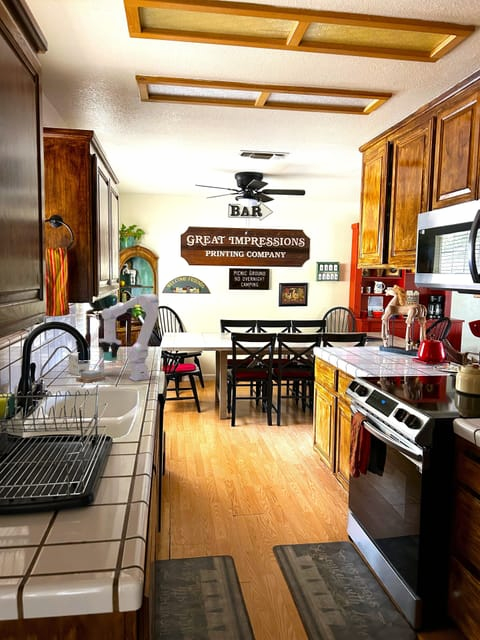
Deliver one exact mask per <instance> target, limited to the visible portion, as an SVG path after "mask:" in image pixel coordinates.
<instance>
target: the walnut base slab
mask: <svg viewBox="0 0 480 640" xmlns="http://www.w3.org/2000/svg"><path fill="white" fill-rule="evenodd" d="M102 380H104V381H106V376H105V375H101V377H97V378H92V379H88V378H82V377H81V376H78V377H75V381H76V382H78V383H82V384H83V383H84V384H89V383H91V384H94V383H93V382H95V383H98V382H97V381H99V382H103V381H102Z"/></svg>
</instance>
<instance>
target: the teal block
mask: <svg viewBox="0 0 480 640" xmlns="http://www.w3.org/2000/svg"><path fill="white" fill-rule="evenodd" d="M102 354H103V356H102V357H103V361H107V362H112V361H113V362H114V361H117V360H118V354H117V355H116V357H115V358H112V351H110V350H109V352H103V353H102Z"/></svg>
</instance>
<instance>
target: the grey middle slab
mask: <svg viewBox="0 0 480 640" xmlns="http://www.w3.org/2000/svg"><path fill="white" fill-rule="evenodd" d="M101 376H102V371H99V370H94V369H93V370H92V369H89V371H85V372H81V375H80V377H82V378H88V379H92V378H97V377H101Z"/></svg>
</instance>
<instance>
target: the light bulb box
mask: <svg viewBox="0 0 480 640" xmlns="http://www.w3.org/2000/svg"><path fill="white" fill-rule="evenodd" d="M78 353H79V352H73V353H72V352H69V353H68V355H67V356H68V373H69V374H72V375H76V376H81V372H85V371H90V360H89V361H79V360H78Z"/></svg>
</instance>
